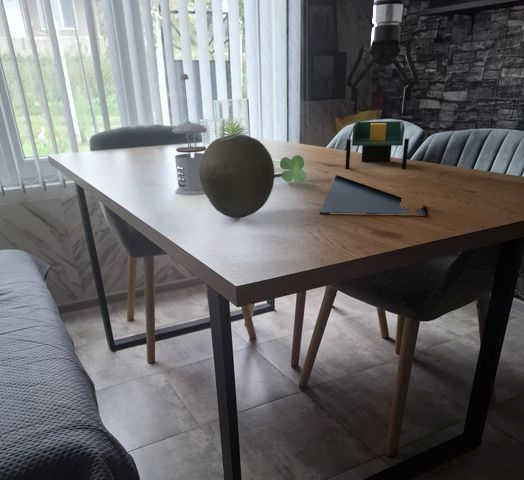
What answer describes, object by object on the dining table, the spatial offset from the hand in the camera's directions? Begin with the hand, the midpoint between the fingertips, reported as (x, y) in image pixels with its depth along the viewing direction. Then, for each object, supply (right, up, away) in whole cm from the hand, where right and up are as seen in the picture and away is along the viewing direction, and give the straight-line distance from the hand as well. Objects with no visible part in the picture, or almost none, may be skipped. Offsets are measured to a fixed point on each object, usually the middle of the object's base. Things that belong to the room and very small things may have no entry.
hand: (379, 113), depth 140 cm
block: (-3, -12, -9) cm, 15 cm away
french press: (-50, -29, -21) cm, 62 cm away
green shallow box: (-2, -10, -6) cm, 12 cm away
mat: (-9, -33, -30) cm, 45 cm away
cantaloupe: (-38, -43, -46) cm, 74 cm away
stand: (-3, -19, -6) cm, 20 cm away
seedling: (-25, -24, -13) cm, 37 cm away
